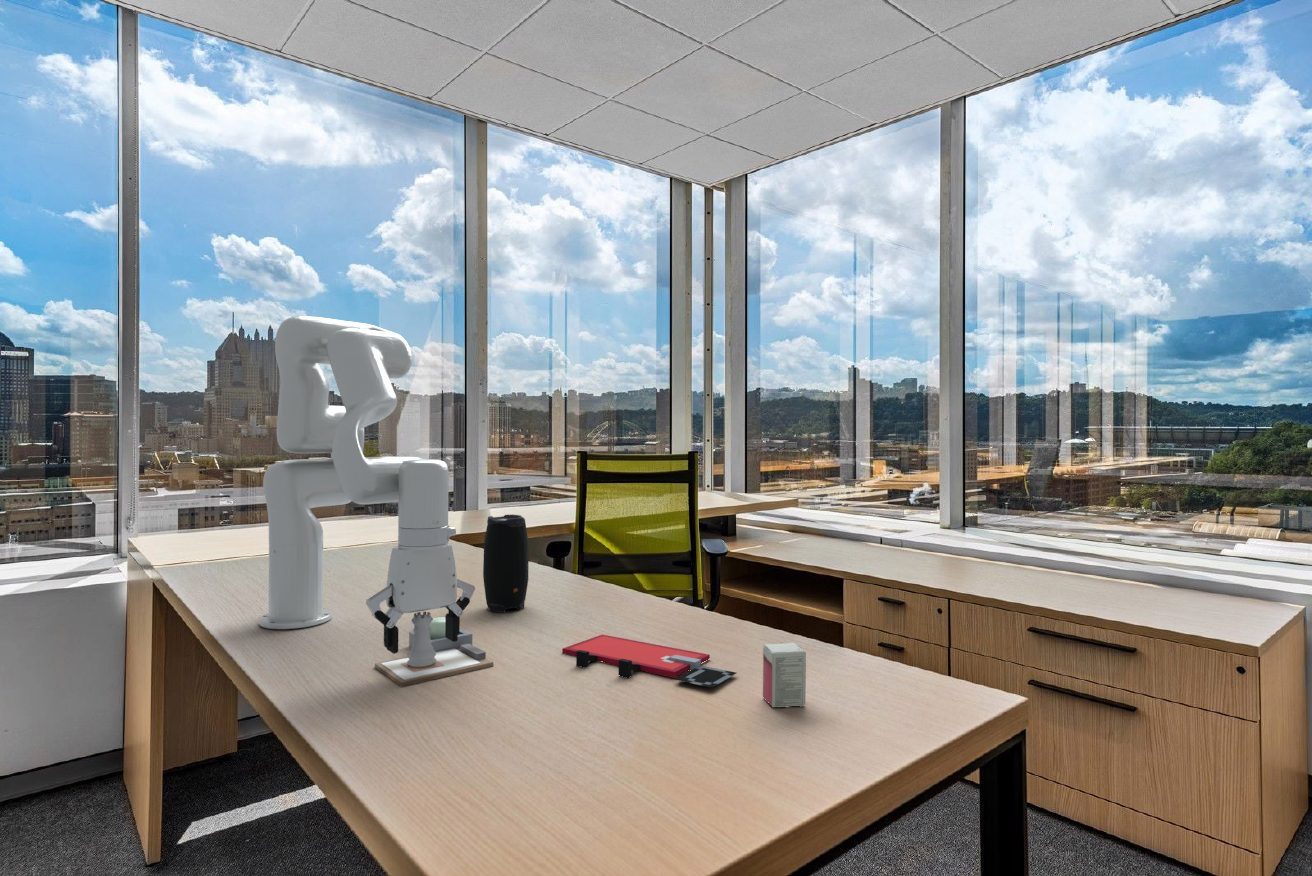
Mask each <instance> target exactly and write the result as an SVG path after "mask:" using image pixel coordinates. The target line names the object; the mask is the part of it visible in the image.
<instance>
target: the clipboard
mask: <svg viewBox="0 0 1312 876" xmlns="http://www.w3.org/2000/svg"><path fill="white" fill-rule="evenodd" d="M435 653H436V655H435V658H436V662H435V663H434V664H433V665H431V666H429V667H424V668H414V667H411V666H409V665H408V663H407V661H408V660H409V658H408V656H407V657H401V658H395V659H391V660H387V661H381V662H376V663H374V668H375V669H376V670H378V671H379V672H380V673H382V674H384V675H385V676H386V677H387V678H389V679H390V680H392V681H393V682H395V683H396V684H397V685H399V686H400V687H401V688H402V687H405V686H410V685H414V684H419V683H423V682H428V681H431V680H432V681H433V680H436V679H442V678H446V677H449V676H454V675H458V674H464V673H467V672H471V671H472V670H473V671H476V670H482V669H485V668H490V667H494V661H492V660H490V659H488V658H487V657H486V654H487V652H486V651H484V650H482V649H480V648H478V647H476V646H475V645H473V644H472V645H471V644H465V645H460V648H454V649H449V650H444V651H439V652H435Z"/></svg>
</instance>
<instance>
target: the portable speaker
mask: <svg viewBox="0 0 1312 876" xmlns="http://www.w3.org/2000/svg"><path fill="white" fill-rule="evenodd" d="M486 523H487V526H486V530H485V535H484V541H483V563H482V564H483V569H482V572H483V573H482V578H483V587H484V594H485V595H484V596H485V600H486V601H485V602H486V606H487V608H488V611H489V612H492V613H506V610H507V609H514V608H516V609H517V610H518V611H521V610H524V609H525V601H526V599H527V598H526V596H527V591H528V585H529V548H530V547H529V537H528V531H527V530H528V529H527V525H526V523H527V522H526V519H525V517H523V516H522V515H520V514H504V515H503V516H493V515H490V516H488V517H487V521H486Z"/></svg>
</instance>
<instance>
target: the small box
mask: <svg viewBox="0 0 1312 876" xmlns="http://www.w3.org/2000/svg"><path fill="white" fill-rule="evenodd" d="M762 645H763V647H762V651H763V654H762V655H763V657H762V658H763V659H762V661H763V662H762V698H763V697H764V698H765V699H766V701H767V702H769V704H770V705H771V706H772V707H786V706H800V707H805V706H806V683H807V682H806V681H807V680H806V678H807V675H806V674H807V652H806V650H804V649H803V648H802V647H801V646H800V645H799V644H797V643H796V642H787V643H769V644H766V643H765V644H762ZM764 698H763V699H764ZM765 699H764V700H765ZM766 701H765V702H766ZM767 702H766V703H767ZM769 704H768V705H769ZM770 705H769V706H770ZM804 705H805V706H804ZM771 706H770V707H771ZM786 708H787V707H786Z"/></svg>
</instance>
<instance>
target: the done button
mask: <svg viewBox="0 0 1312 876" xmlns="http://www.w3.org/2000/svg"><path fill="white" fill-rule="evenodd" d="M432 618H433V620H432V621H431V623H430V627H431V630H430V639H431V640H434V639H440V638H445V616H438V617H432Z"/></svg>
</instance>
